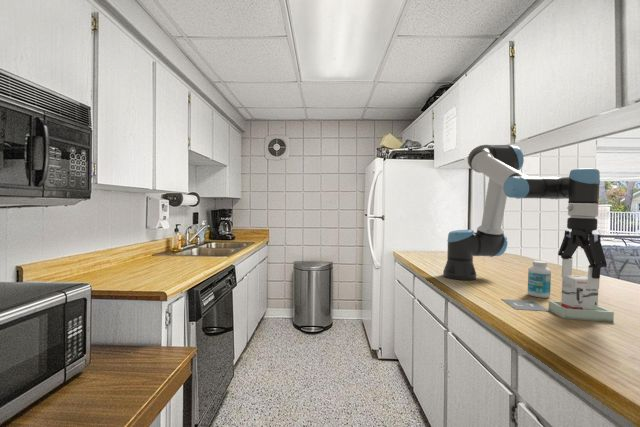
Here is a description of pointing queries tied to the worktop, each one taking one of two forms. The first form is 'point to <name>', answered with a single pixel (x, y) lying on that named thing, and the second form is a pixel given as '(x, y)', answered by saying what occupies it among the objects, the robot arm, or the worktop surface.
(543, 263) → the pill bottle
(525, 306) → the label
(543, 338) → the worktop surface
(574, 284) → the ink box
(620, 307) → the worktop surface
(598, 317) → the tray
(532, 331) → the worktop surface
